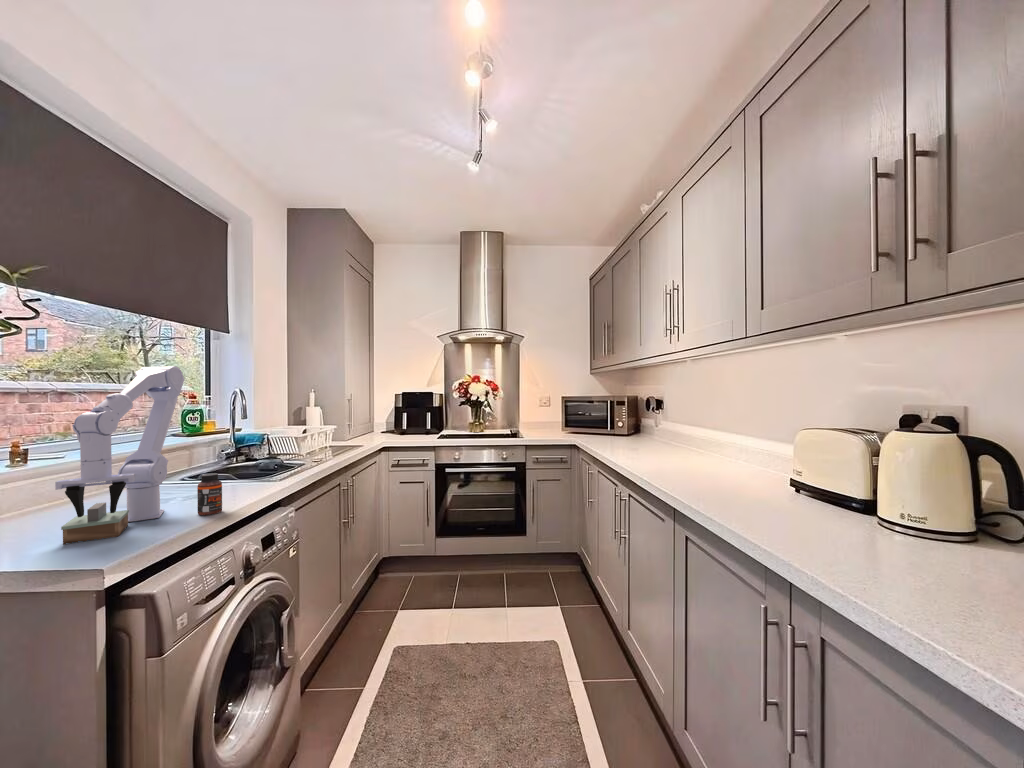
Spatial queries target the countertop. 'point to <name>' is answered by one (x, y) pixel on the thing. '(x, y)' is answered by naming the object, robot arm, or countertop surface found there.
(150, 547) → the countertop surface
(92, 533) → the box
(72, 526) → the lid
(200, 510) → the supplement bottle
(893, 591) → the countertop surface
